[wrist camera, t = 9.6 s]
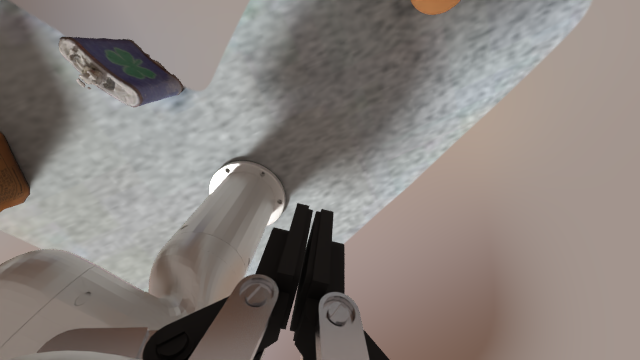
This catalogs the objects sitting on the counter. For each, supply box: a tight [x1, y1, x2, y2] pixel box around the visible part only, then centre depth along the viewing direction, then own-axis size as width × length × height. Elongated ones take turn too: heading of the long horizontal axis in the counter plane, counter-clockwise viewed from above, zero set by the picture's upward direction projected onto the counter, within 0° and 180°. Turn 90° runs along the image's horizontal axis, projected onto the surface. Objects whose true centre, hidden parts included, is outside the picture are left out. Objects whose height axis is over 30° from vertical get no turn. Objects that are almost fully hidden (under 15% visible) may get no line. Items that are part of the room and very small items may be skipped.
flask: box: [59, 37, 183, 107], centre depth 31 cm, size 9×3×11 cm, turn 47°
